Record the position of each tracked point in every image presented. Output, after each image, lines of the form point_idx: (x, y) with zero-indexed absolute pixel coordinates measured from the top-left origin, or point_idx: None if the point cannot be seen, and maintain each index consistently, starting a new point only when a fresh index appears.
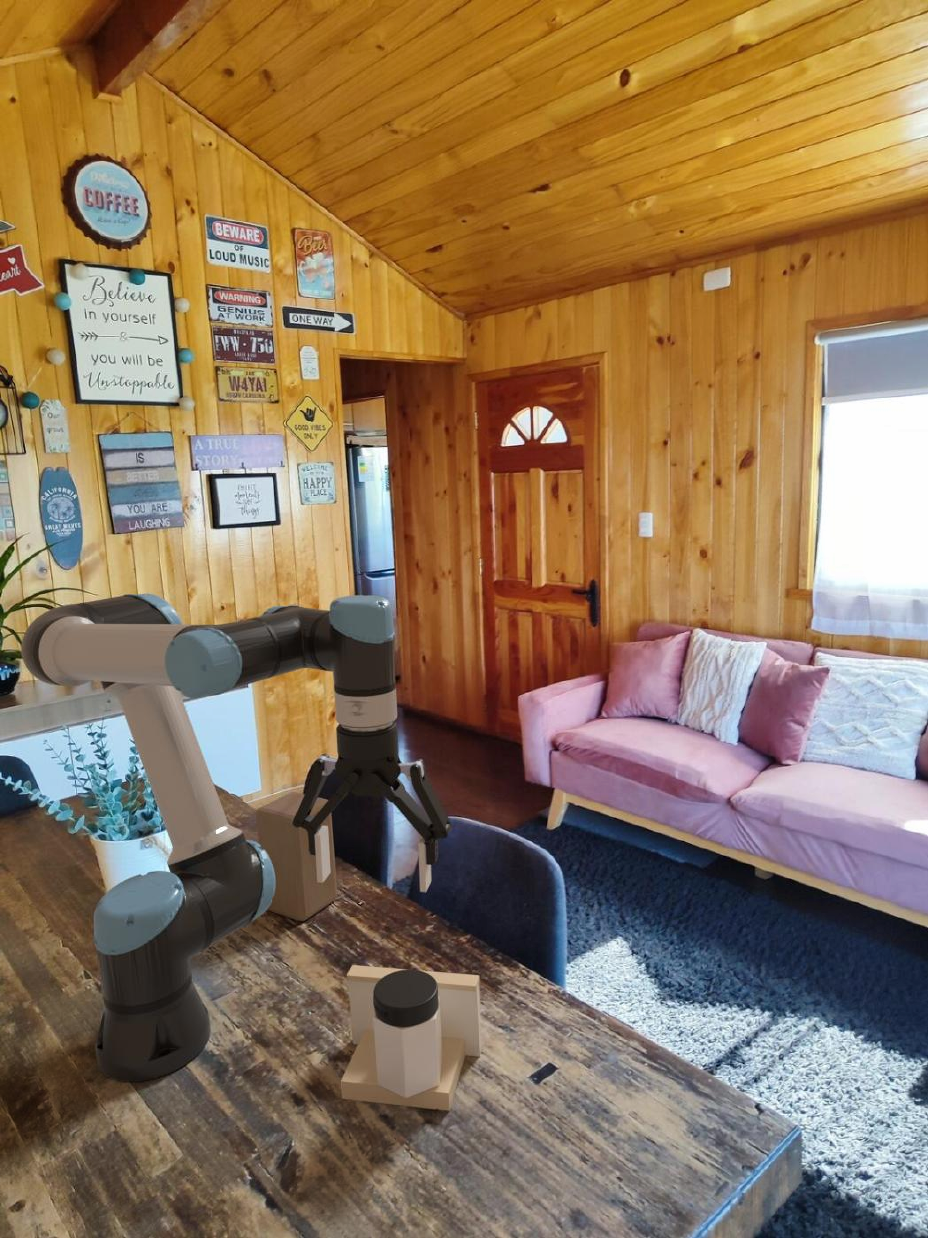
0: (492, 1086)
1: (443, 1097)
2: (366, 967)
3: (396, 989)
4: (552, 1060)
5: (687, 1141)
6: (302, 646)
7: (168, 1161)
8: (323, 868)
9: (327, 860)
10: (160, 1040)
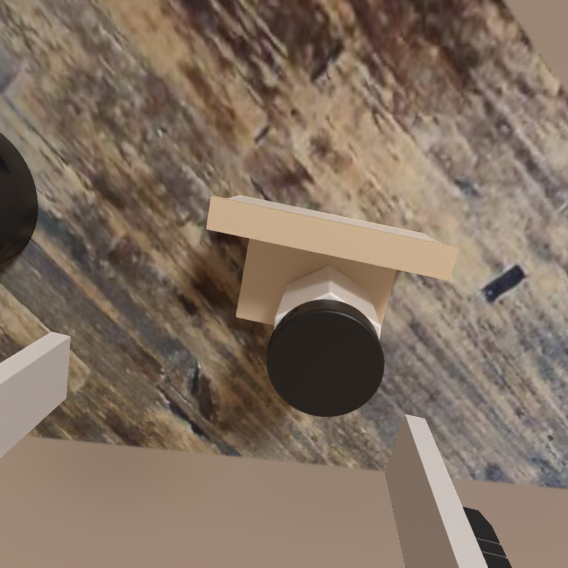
0: (429, 302)
1: None
2: (239, 205)
3: (308, 369)
4: (522, 261)
5: None
6: None
7: (79, 376)
8: (37, 412)
9: (32, 382)
10: None
